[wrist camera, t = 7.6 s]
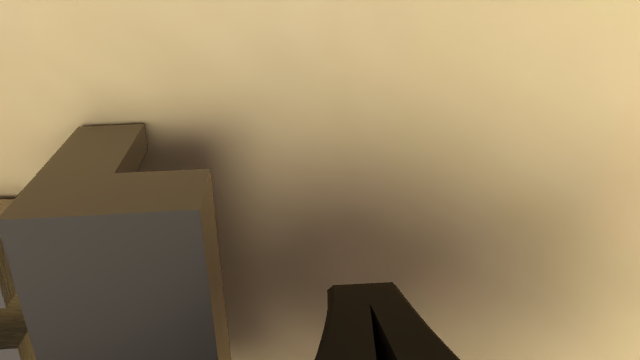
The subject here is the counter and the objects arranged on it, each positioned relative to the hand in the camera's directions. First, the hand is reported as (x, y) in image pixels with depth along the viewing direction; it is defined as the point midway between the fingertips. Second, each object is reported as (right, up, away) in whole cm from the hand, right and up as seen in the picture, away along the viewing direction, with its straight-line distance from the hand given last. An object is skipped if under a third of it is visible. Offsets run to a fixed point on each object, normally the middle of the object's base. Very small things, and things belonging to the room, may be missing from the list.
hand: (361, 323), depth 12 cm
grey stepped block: (-5, +1, +2) cm, 6 cm away
